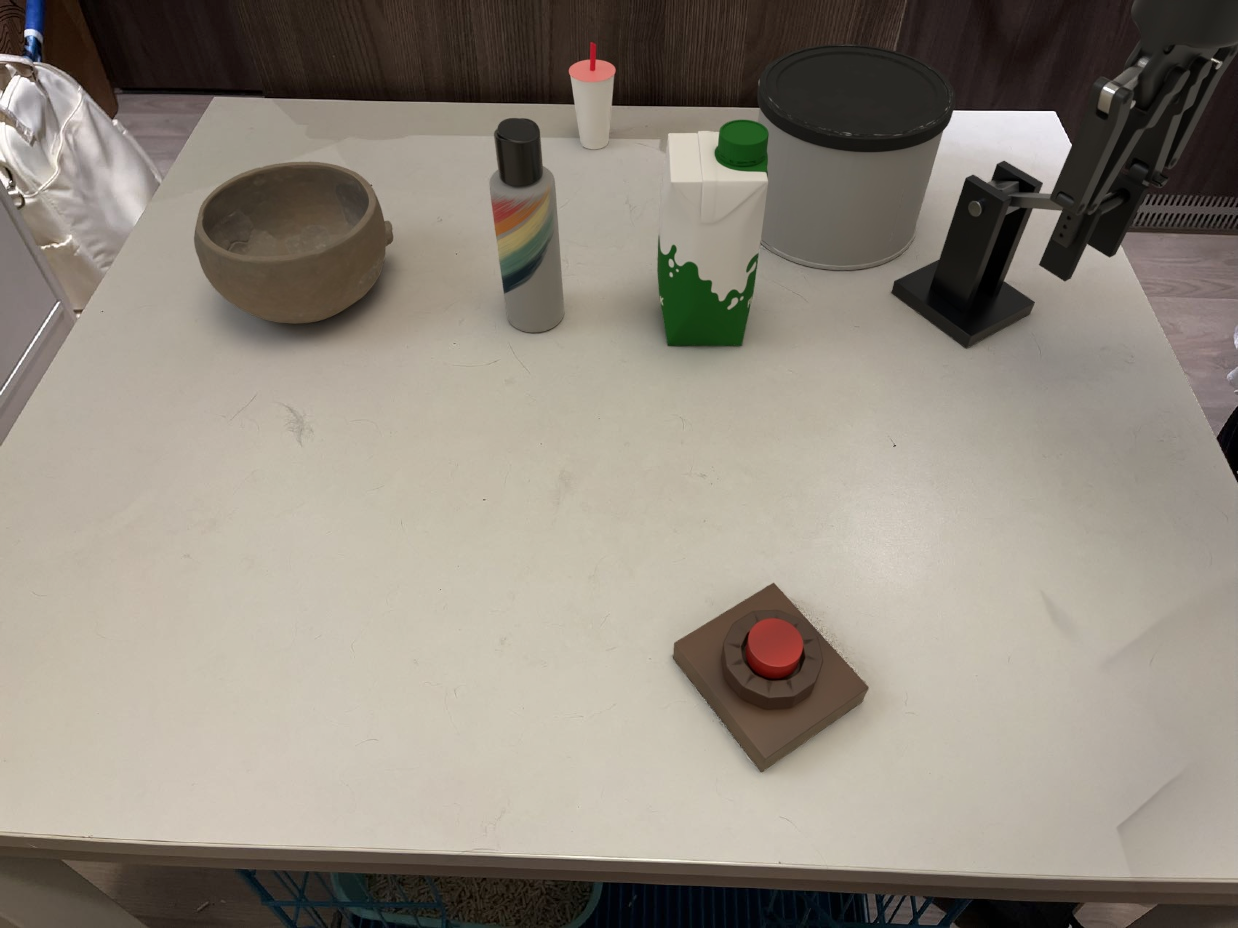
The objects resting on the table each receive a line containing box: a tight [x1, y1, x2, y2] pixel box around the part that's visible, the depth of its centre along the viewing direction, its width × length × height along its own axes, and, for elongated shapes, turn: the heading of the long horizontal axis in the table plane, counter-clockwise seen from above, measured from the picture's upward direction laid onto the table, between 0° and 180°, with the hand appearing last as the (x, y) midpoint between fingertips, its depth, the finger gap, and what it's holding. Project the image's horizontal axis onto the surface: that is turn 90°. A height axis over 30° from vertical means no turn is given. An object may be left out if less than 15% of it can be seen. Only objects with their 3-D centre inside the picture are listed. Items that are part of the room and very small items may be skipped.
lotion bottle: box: [488, 117, 565, 334], centre depth 80 cm, size 6×6×20 cm
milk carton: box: [656, 119, 769, 347], centre depth 80 cm, size 9×9×20 cm
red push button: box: [746, 618, 803, 679], centre depth 59 cm, size 4×4×2 cm
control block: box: [672, 582, 870, 773], centre depth 61 cm, size 10×9×4 cm
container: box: [756, 43, 957, 271], centre depth 92 cm, size 19×19×15 cm
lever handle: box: [987, 180, 1130, 215], centre depth 76 cm, size 12×5×2 cm, turn 33°
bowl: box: [193, 161, 394, 324], centre depth 87 cm, size 17×18×10 cm
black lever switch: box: [891, 160, 1044, 349], centre depth 83 cm, size 10×9×14 cm
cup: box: [568, 41, 617, 150], centre depth 104 cm, size 5×5×12 cm
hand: (1077, 259), depth 75 cm, fingers closed on lever handle, 5 cm apart
